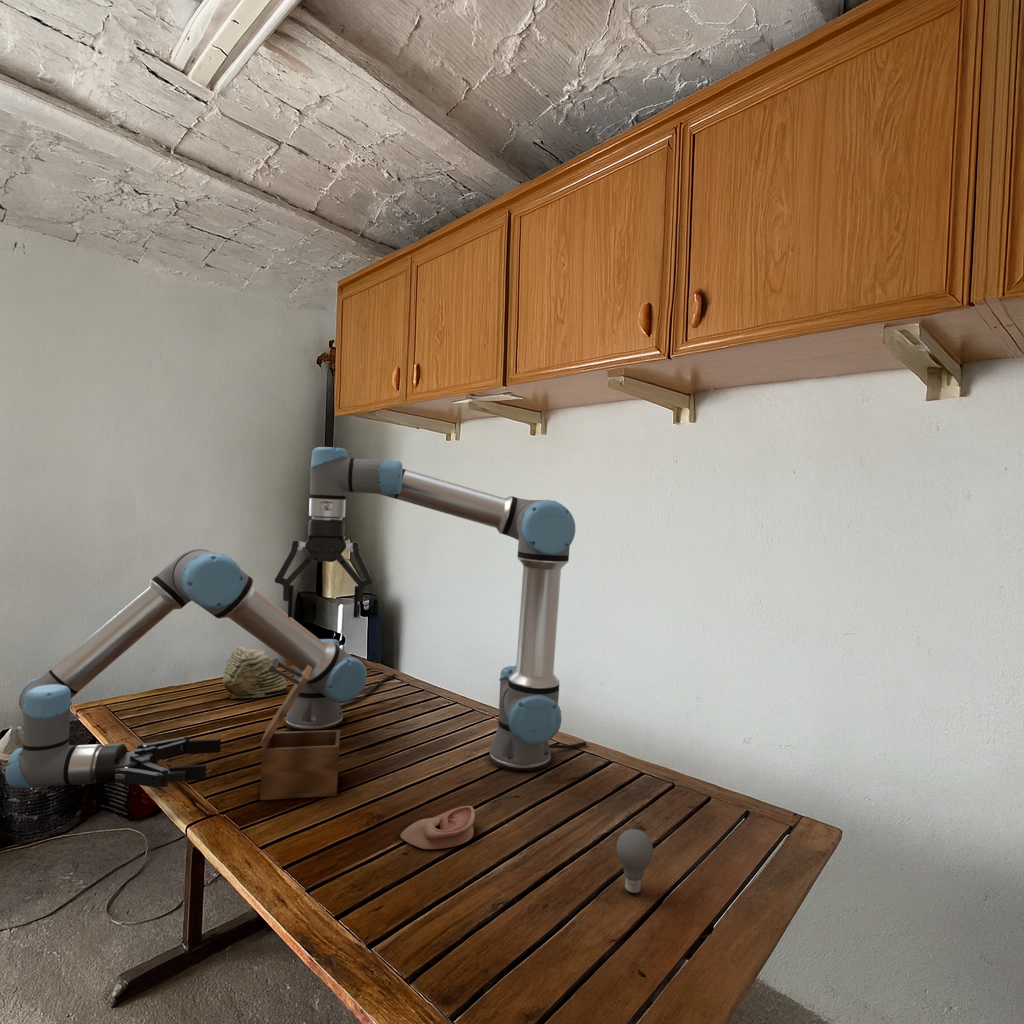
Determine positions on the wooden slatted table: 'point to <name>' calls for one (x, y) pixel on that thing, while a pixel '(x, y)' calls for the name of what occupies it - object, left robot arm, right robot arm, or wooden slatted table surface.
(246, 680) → the fossil
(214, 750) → the left robot arm
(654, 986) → the wooden slatted table surface
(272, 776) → the chest
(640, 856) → the light bulb
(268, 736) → the lid
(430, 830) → the anatomical model
